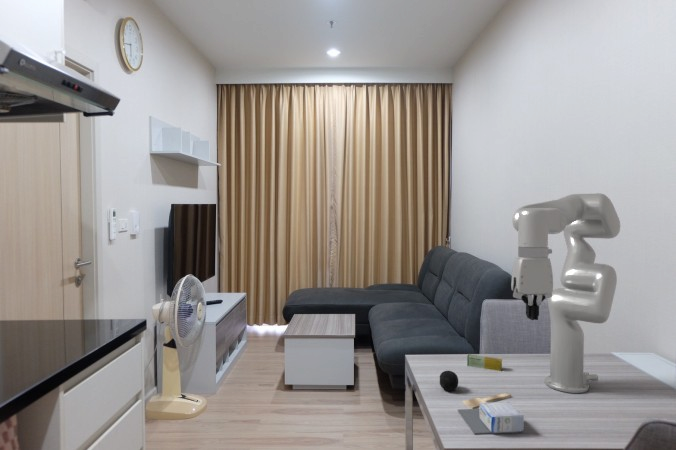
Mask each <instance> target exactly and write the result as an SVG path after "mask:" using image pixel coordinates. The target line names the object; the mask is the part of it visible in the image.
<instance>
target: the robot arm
mask: <svg viewBox="0 0 676 450" xmlns="http://www.w3.org/2000/svg"><path fill="white" fill-rule="evenodd" d="M512 226H513V228H514V230H515V231H516V232H518V236H517V238H518V242H517V243H518V244H517V245H518V247H517V249H518V250H517V252H518V253H517V257H515V258H514V260H513V265H512V272H511V283H510V285H511V287H510V288H511V291H512V292H513V293H512V297H513V298H515V299H518V300H521V301H522V302H523V303H524V305H525V315H526V318H527V319H529V320H530V321H534V320H535V321H538V320H539V316H540V306H541V305H542V303H543V302H544V300H547V306H548V307H547V308H548V313H549V319H550V363H549V364H550V368H549V369H550V370H549V371H550V373H549V374H550V375H547V376H546V377H545V379H544V383H545V385H547V386H548V387H550V388H551V389H554V390H556V391H560V392H563V393H569V394H570V393H572V394H583V393H587V392H588V391H589V389H590V387H589V386H590V385H589V384H588V382H590V381H598V380H599V376H598V374H590V373H589V372H588V371H587V372H586V371H585V372H584V364H585V362H584V357H585V354H584V349H585V346H584V345H585V344H584V343H585V336H584V331H583V329H582V327H581V325H580V324H579V321H581V322H587V323H590V324H591V323H593V324H605V323H606V322H607V321H608V320H609V317H610V314H611V311H612V306H613V302H614V297H615V292H616V288H617V281H618V280H617V273H616V270H615V268H614V267H613V266H611V265H609V264H606V263H597V262H596V263H595V260H596V257H597V256H596V255H597V254H596V251H595V250H594V248H593V246H591V245H590V243H588V242H587V241H586V240H585V239H604V240H605V239H614V238H616V237H617V236H618V235H619V233H620V232H621V221H620V217H619V215H618V213H617V210H616V208H615V207H614V204H613V202H612V201H611V199H610V197H608V196H607V195H606V194H604V193H597V192H596V193H574V194H568V195H565V196H563V197H561V198H557V199H552V200H548V201H544V202H537V203H532V204H527V205H524V206H521V207H519V208H518V209H517V210H515V212H514V214H513V216H512ZM560 233H563V236H564V241H565V244H566V249H567V252H566V253H567V254H566V257H565V259H564V263H563V266H562V270H561V273H560V283H561V284H560V285H561V286H563V288H555V289H554V278H553V277H554V274H553V267H552V262H551V259H550V258H549V255H550V254H552V253H553V250H552V248H549V235H556V234H560Z"/></svg>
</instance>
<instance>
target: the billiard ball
mask: <svg viewBox="0 0 676 450" xmlns="http://www.w3.org/2000/svg"><path fill="white" fill-rule="evenodd" d="M438 381H439V385H440V387H441V388H442V389H444V390H445V391H447V392H452V391H454V390H456V389H457V388H458V385H459V377H458V375H457V374H456V373H455V372H454V371H452V370H444V371H442V372H441V373H440V375H439V378H438Z"/></svg>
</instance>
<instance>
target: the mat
mask: <svg viewBox="0 0 676 450" xmlns="http://www.w3.org/2000/svg"><path fill="white" fill-rule="evenodd" d="M479 409H480V408H475V409H472V408H465V409H457V412H458V414H459V415H460V416H461V418H462V419H463V420H464V422H465V424H467V426H468V427H469V429H470V430H471V432H472V433H473V435H491V434H492V435H495V434H497V435H498V434H517V433H521V431H516V432H497V433H492V432H491V431H490V430H489V429H488V428H487V426H486V425H485V424H484V423H483V422H482V420H481V419H480V415H479Z"/></svg>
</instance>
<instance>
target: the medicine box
mask: <svg viewBox="0 0 676 450" xmlns="http://www.w3.org/2000/svg"><path fill="white" fill-rule="evenodd" d="M478 409H479V415H480V419H481V420H482V422H483V423H484V424H485V425H486V426H487V428H488V429H489V430H490V431H491V432H492V433H497V432H516V431H520V432H523V431H524V419H525V418H524V414H523V413H522V412H521V411H519V409H517V408H516V407H515V406H514V405H513V404H511V402H509V401H499V402H498V401H496V402H495V401H493V402H489V403H480V407H479V408H478ZM497 434H498V433H497Z"/></svg>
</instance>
